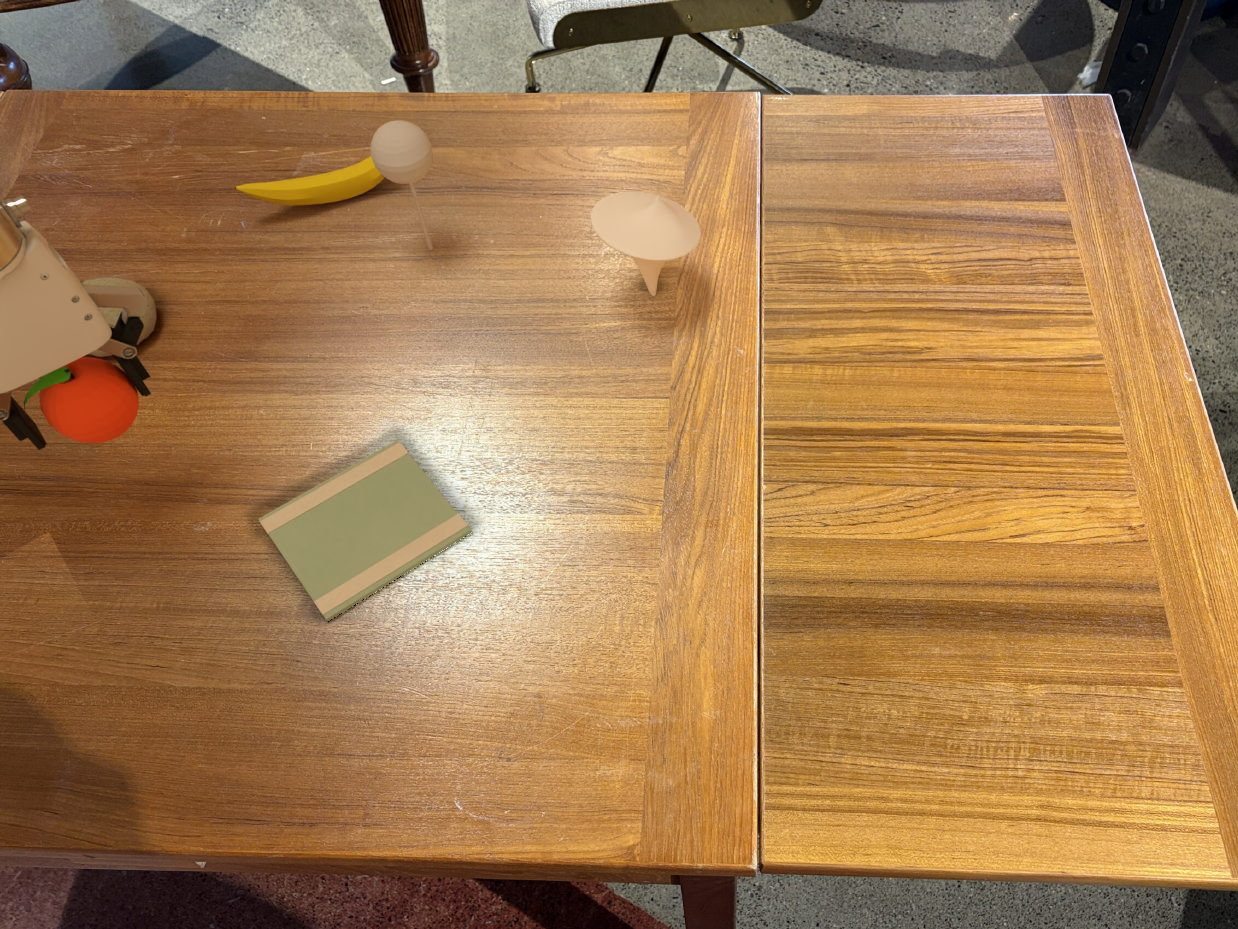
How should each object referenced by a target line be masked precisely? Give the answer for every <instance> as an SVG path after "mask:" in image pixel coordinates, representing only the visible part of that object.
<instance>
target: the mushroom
mask: <svg viewBox="0 0 1238 929" xmlns="http://www.w3.org/2000/svg"><path fill="white" fill-rule="evenodd" d="M590 223H591V227H592V229H593V231H594V233H595V234H596V236H597V237H598V239H600V240H601V241H602V242H603V243H604V244H605V245H607V246H608V247H609V248H611V249H612V250H614V251H616V252H619V253H620V254H623V255H626V256H629V257H630V258H631V259H632V260H633V262H634V263H635V265H636V267H637V268H638V270H639V273H640V274H641V276H642V278H643V281H644V283H645V286H646V288H647V290H648V293H649V295H651V297H656V295H657V291H658V290H657V289H658V281H659V276H660V273H661V271H662V269H663V267H664V265H665V264H666V263H667V261H672V260H676V259H679V258H682V257H685V256H687V255H689V254H690V253H692V252H693V251H694V250H695V249H696V248H697V246H699V243H700V241H701V237H702V236H701V235H702V234H701V228H700V225H699V223H698V221H697V219H696V218H695V217H694V215H693V214H692V213H691V212H690V211H689V210H688V209H687V208H685V207H684V206H683V205H681V204H679V203H677V202H676V201H674V200H672V199H670V198H668V197H666V196H665V197H664V196H662V195H658V194H655V193H651V192H645V191H635V190H634V191H633V190H631V191H630V190H629V191H621V192H615V193H611V194H609V195H607V196H605V197H603V198H601V199H600V200H598V202H597V203H595V205H594V206H593V208H592V209H591V213H590Z"/></svg>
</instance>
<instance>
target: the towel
mask: <svg viewBox="0 0 1238 929" xmlns="http://www.w3.org/2000/svg"><path fill="white" fill-rule="evenodd" d="M257 520H258V522H259V523H260V525H261V526H262V528H263V529H264V531H265V532H266V533H267V535H268V536H269V538H270V540H271V541H272V542H273V544H274V545H275V547H276V548H277V550H278V551H279V553H280V555H281V556H282V557H283V559H284V560H285V561H286V564H288V566H289V568H290V569H291V571H292V572H293V573H294V575H295V576H296V578H297V579H298V581H299V583H300V584H301V585H302V587H303V588H304V589H305V591H306V593H307V594H308V596H309V597H310V598H311V600H312V602H313V603H314V605H315V606H316V607H317V609H318V610H319V612H320V614H321V615H322V616H323V618H324V619H325V620H326V622H327V621H329V620H331V619H333V618H334V617H336V616H338V615H339V614H341V613H342V612H344V611H346V610H347V609H349V608H350V607H352V606H354V605H355V604H357V603H359V602H360V601H362V600H363V599H365V598H367V597H368V596H370V595H371V594H373V593H375V592H376V591H378V590H379V589H381V588H383V587H384V586H386V585H388V584H389V583H391V582H392V581H394V580H396V579H397V578H399V577H400V576H402V575H404V574H405V573H407V572H409V571H410V570H412V569H413V568H415V567H417V566H418V565H420V564H421V563H423V562H425V561H426V560H428V559H429V558H431V557H433V556H434V555H436V554H438V553H439V552H441V551H442V550H444V549H446V548H447V547H449V546H450V545H452V544H454V543H455V542H457V541H459V540H460V539H462V538H463V537H465V536H467V535H468V534H470V533H471V532H472V533H473V531H472V529H471V528H470V526H469V524H468V523H467V522H466V521H465V520H464V518H463V517H462V516H461V515H460V514H459V513H458V512H457V510H456V509H455V508H454V507H453V506H452V504H450V502H449V501H448V499H447V498H446V497H445V496H444V495H443V493H442V492H441V491H440V490H439V488H438V487H437V486H436V485H435V484H434V483H433V481H432V480H431V479H430V477H429V476H428V475H427V474H426V473H425V472H424V470H423V469H422V468H421V466H420V465H419V464H418V463H417V462H416V460H415V459H414V457H412V455H410V452H409V451H408V450H407V449H406V448H405V446H404V445H403V444H402V442H400V441H399V440H398V439H397V440H395V441H393V442H391V443H389V444H387V445H386V446H383V447H382V448H380V449H379V450H377V451H375V452H373V453H371V454H370V455H368V456H366V457H365V458H362V459H361V460H359V461H358V462H356V463H353V464H352V465H350V466H349V467H347V468H345V469H343V470H342V471H340V472H338V473H336V474H334V475H333V476H331V477H329V478H327V479H326V480H324V481H322V482H320V483H318V484H317V485H315V486H312V488H310V489H307V490H306V491H304V492H302V493H301V494H299V495H297V496H295V497H294V498H292V499H290V500H289V501H287V502H285V503H284V504H282V505H280V506H278V507H276V508H275V509H273V510H271V511H270V512H269V511H268V512H267V513H266V514H264V515H262V516H260V517H259V518H258V519H257ZM470 535H471V534H470ZM468 536H469V535H468ZM468 536H467V537H468ZM465 538H466V537H465ZM462 540H463V539H462ZM460 541H461V540H460ZM460 541H459V542H460ZM457 543H458V542H457ZM454 545H455V544H454ZM452 546H453V545H452ZM449 548H450V547H449ZM447 549H448V548H447ZM447 549H446V550H447ZM444 551H445V550H444ZM441 553H442V552H441ZM439 554H440V553H439ZM439 554H438V555H439ZM436 556H437V555H436ZM433 558H434V557H433ZM431 559H432V558H431ZM428 561H429V560H428ZM426 562H427V561H426ZM426 562H425V563H426ZM423 564H424V563H423ZM420 566H421V565H420ZM418 567H419V566H418ZM418 567H417V568H418ZM415 569H416V568H415ZM412 571H413V570H412ZM410 572H411V571H410ZM410 572H409V573H410ZM407 574H408V573H407ZM404 576H405V575H404ZM402 577H403V576H402ZM399 579H400V578H399ZM397 580H398V579H397ZM397 580H396V581H397ZM394 582H395V581H394ZM391 584H392V583H391ZM389 585H390V584H389ZM389 585H388V586H389ZM386 587H387V586H386ZM383 589H384V588H383ZM381 590H382V589H381ZM378 592H379V591H378ZM375 594H376V593H375ZM373 595H374V594H373ZM370 597H371V596H370ZM368 598H369V597H368ZM368 598H367V599H368ZM365 600H366V599H365ZM362 602H363V601H362ZM360 603H361V602H360ZM360 603H359V604H360ZM357 605H358V604H357ZM354 607H355V606H354ZM352 608H353V607H352ZM349 610H350V609H349ZM347 611H348V610H347ZM347 611H346V612H347ZM344 613H345V612H344ZM341 615H342V614H341ZM339 616H340V615H339ZM339 616H338V617H339ZM336 618H337V617H336ZM333 620H334V619H333ZM331 621H332V620H331Z"/></svg>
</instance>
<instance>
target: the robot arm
mask: <svg viewBox="0 0 1238 929" xmlns="http://www.w3.org/2000/svg"><path fill="white" fill-rule="evenodd" d="M35 214H36V213H35V211H34V210H33V208H32V206H31V205H30V204H29V202H28V201H27V199H26V198H25V196H23V194H22V195H20V196H17V197H14V198H11V197H9V198H6V199H4V198H3V196H2V195H0V422H1V423H3V424H4V426H5V427H6V428H7V429H8V430H9V431H10V432H11V433H12V434H13V435H14V437H15V438H16V439H17V440H18V441H19V442H23V441H25V440H27V439H28V440H29V441H30V442H31V443H32V444H33V445H34V447H35V448H36V449H37V450H38V451H41V450H43V449H46V446H47V445H48V443H47V441H46V440H45V438H44V436H43V435H42V432H41V431H40V429H39V426H37V423H36V422H35V421H34V420H33V419H32V417H31V416H30V415H29V414H28V413H27V412H26V410H25V411H24V408H23V407H22V406H21V405H20V404H19V403H18V402H17V401H16V399H15V398H14V397H13V396H12V391H13V390H16V389H17V388H20V387H22V386H24V385H27V384H29V383H31V382H34V381H35V380H37V379H40V378H42V377H43V376H45V375H46V374H48V373H50V372H52V371H54V370H56V369H58V368H60V367H63V366H65V365H67V364H69V363H71V362H73V361H75V360H77V359H79V358H81V357H86V356H87V355H90V354H89V353H91V352H93V351H95V350H97V349H98V350H101V351H104V352H107V353H110V354H113V355H112V356H113V357H114V359H115V360H116V362H117V363H118V365H119V367H120V369H122V370H123V371H124V372H125V373H126V375H127V376H128V377H129V379H130V380H131V382H132V383H133V384H134V386H135V388H136V390H137V392H138V394H139V395H140V396H141V397H145V398H146V397H149V396H150V395H152V393H151V391H150V389H149V388H148V386H147V385H146V383H145V382H144V381H145V380H147V379H149V378H151V374H150V373H149V372H148V370H147V369H146V368H145V366H144V364H143V362H142V361H141V360H140V359H139V357H138V350H137V346H138V345H137V342H138V340H139V337H140V335H141V333H142V330H143V328H144V324H143V317H144V315H145V310H146V304H147V298H146V297H145V295H144V294H143V293H142V291H141V290H140V289H139V288H138V287H126V286H105V285H84V284H82V281H81V280H80V278H79V277H78V276H77V275H76V273H75V272H74V271H73V270H72V268H71V267H70V266H69V265H68V263H67V262H66V260H64V258H63V257H62V256H61V254H60V253H59V252H58V251H57V250H56V248H54V246H53V245H51V243H50V242H49V241H48V240H47V239H46V238H45V237H44V236H43V235H42V234H41V233H40V232H39V231H38V230H37V229H36V228H35V227H34V226H32V225H31V224H30V223H29V222H28V221H26V218H28V217H30V216H32V215H35ZM98 307H108V308H122V309H123V311H122V312H121V313H120V316H119V318H118V320H117V323H116V325H115V326H114V325H111V324H108V323H107V320H106V319H105V317H104V315H103V314H102V312H101V311H100V309H99V308H98Z"/></svg>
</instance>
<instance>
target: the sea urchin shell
mask: <svg viewBox="0 0 1238 929" xmlns="http://www.w3.org/2000/svg"><path fill="white" fill-rule="evenodd" d="M81 283H82V284H84V285H105V286H126V287H138V288H139V289H140V290H141V291H142V293H143V294H144V295H145V297H146V298H147V304H146V310H145V315H144V317H143V324H144V328H143V330H142V333H141V335H140V337H139V340H138V342H137V345H136V346H138V345H140V344H141V342H143V341H144V340H146V339H147V338H149V336H150V335H151V334H152V333H153V332H154V331H155V326H156V322H157V319H158V318H157V316H158V314H157V307H156V305H157V304H156V303H155V299H154V298H153V297H152V295H151V294H150V292H149V291H148V290H147V289H146V288H145V286H144V285H141V284H140V283H138V282H136V281H135V280H131V279H128V278H121V277H120V278H119V277H96V278H91V279H85V280H84V281H81ZM98 308H99V309H100V311H101V312H102V314H103V315H104V317H105V319H106V320H107V323H108V324H111V325H114V326H115V325H116V323H117V320H118V318H119V316H120V313H121V312H122V311H123V309H122V308H108V307H98ZM88 355H91V356H94V357H97V358H98V357H99V358H101V357H102V358H104V357H105V358H106V357H111V356H113V354H110V353H107V352H104V351H101V350H98V349H97V350H95V351H93V352H91V353H89V354H88Z"/></svg>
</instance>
